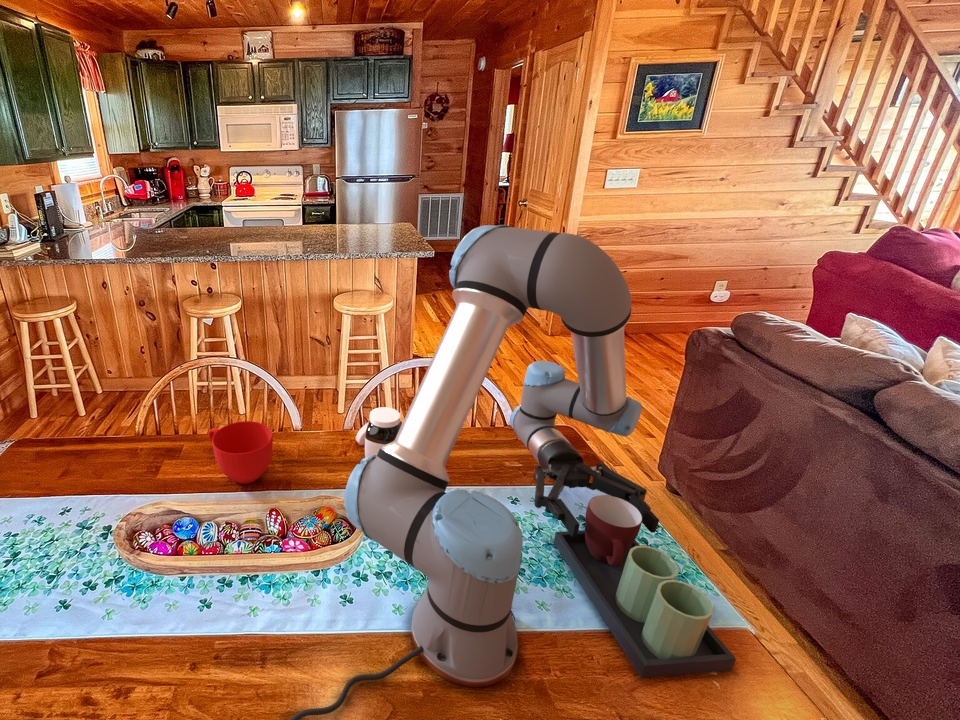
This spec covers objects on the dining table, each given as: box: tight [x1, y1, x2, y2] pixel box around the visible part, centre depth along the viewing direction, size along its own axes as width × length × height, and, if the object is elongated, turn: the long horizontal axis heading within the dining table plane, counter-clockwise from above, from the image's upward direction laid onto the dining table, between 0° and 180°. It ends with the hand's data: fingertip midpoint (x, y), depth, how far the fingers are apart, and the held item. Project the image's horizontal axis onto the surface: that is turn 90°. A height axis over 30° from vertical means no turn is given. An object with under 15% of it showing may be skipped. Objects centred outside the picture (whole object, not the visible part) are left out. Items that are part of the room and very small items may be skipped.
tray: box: [553, 529, 737, 679], centre depth 81 cm, size 13×25×3 cm, turn 3°
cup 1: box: [615, 545, 680, 623], centre depth 78 cm, size 6×6×10 cm
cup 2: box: [641, 579, 714, 659], centre depth 72 cm, size 6×6×10 cm
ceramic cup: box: [208, 420, 274, 485], centre depth 112 cm, size 13×17×10 cm
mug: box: [584, 494, 643, 567], centre depth 86 cm, size 10×8×10 cm
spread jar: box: [355, 406, 403, 458], centre depth 117 cm, size 12×11×12 cm
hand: (615, 528), depth 85 cm, fingers open, 13 cm apart
